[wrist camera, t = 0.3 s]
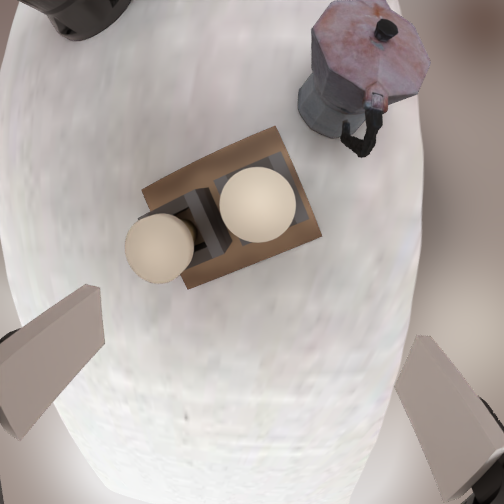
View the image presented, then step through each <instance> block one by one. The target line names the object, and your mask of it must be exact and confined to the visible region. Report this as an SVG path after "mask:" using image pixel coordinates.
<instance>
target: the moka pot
mask: <svg viewBox="0 0 504 504" xmlns="http://www.w3.org/2000/svg"><path fill="white" fill-rule="evenodd" d="M311 35H312V43H311V49H312V65H311V68H312V71H313V72H312V74H311V75H310V76H309V78H308V79H307V80H306V81H305V83H304V84H303V85H302V87H301V88H300V89H299V94H298V110H299V112H300V114H301V116H302V118H303V119H304V120H305V122H306V123H307V124H308V126H309V127H310V128H311V129H313V130H314V131H316V132H319V133H320V134H323V135H325V136H327V137H329V138H338V137H340V139H341V142H342V143H343V144H345V146H346V147H348V148H349V149H351V150H352V151H353V152H354V153H356V154H357V155H358V157H361V158H362V157H366V156H367V155H369V154H370V152H371V151H372V149H373V147H374V146H375V144H376V134H377V133H378V130H379V129H380V128H381V127H382V125H383V121H382V114H384V113H386V112H387V110H388V105H390V104H392V103H395V102H398V101H401V100H403V99H406V98H409V97H412V96H414V95H417V94H418V92H419V89H420V87H421V85H422V82H423V80H424V78H425V76H426V73H427V71H428V69H429V66H430V63H431V62H430V59H429V56H428V54H427V52H426V50H425V48H424V46H423V43H422V41H421V39H420V37H419V35H418V33H417V31H416V28H415V27H414V26H413V24H412V23H410V22H409V21H407V20H406V19H404V18H403V17H402V16H400V15H399V14H397V13H395V12H394V11H392V10H391V9H390V7H389V5H388V4H387V2H386V0H336V1H333V2H331V3H330V5H329V6H328V7H327V9H326V10H325V11H324V13H323V14H322V15H321V17H320V18H319V19H318V21H317V22H316V24H315V25H314V26H313V28H312V29H311ZM365 120H366V126H367V129H366V134H365V136H364V140H361V139H358V138H357V137H356V138H355V137H354V136H350V135H351V134H353V133H354V132H355V131H356V130H357V129H358V128H359V127H360V126H361V124H362V123H363V122H364V121H365Z"/></svg>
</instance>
